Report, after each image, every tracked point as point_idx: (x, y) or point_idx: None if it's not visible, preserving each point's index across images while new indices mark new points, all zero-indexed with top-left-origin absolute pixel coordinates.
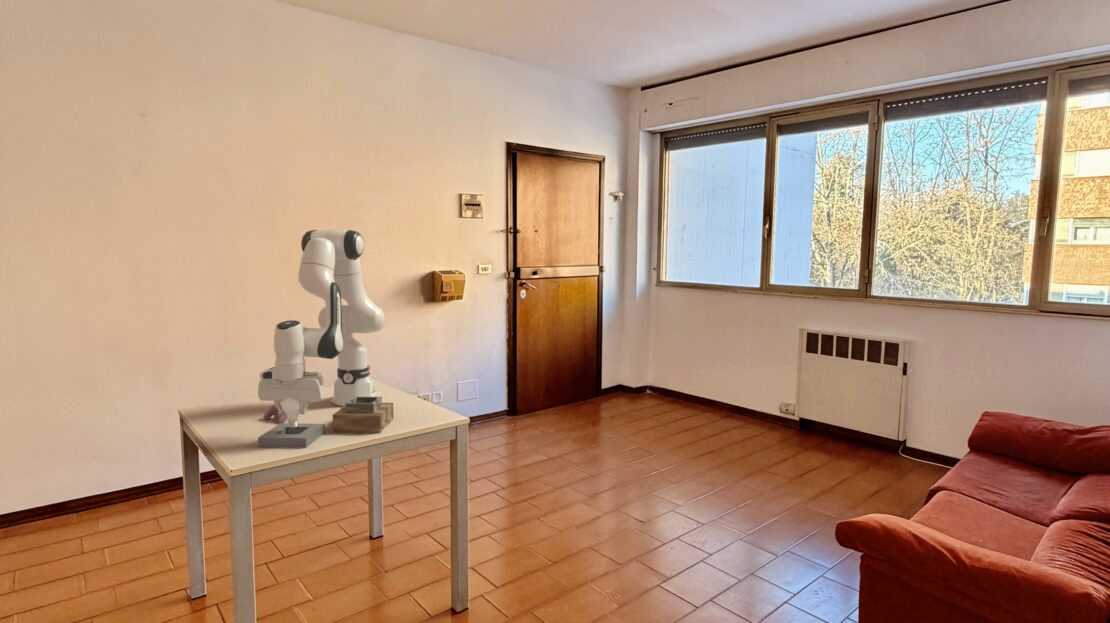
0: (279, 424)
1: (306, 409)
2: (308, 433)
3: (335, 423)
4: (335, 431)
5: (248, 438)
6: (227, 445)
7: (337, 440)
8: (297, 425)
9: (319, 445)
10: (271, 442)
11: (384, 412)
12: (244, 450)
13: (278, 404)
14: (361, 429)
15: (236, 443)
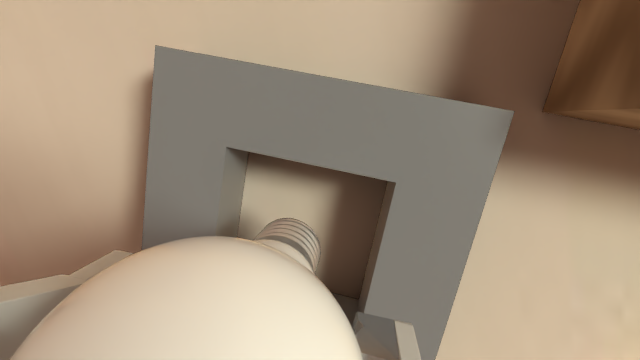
0: (160, 81)
1: (418, 354)
2: (416, 332)
3: (612, 114)
4: (563, 115)
5: (68, 161)
6: (25, 254)
7: (578, 290)
8: (320, 248)
9: (474, 351)
10: None
11: None
12: None
13: (4, 356)
14: None
15: (49, 232)
